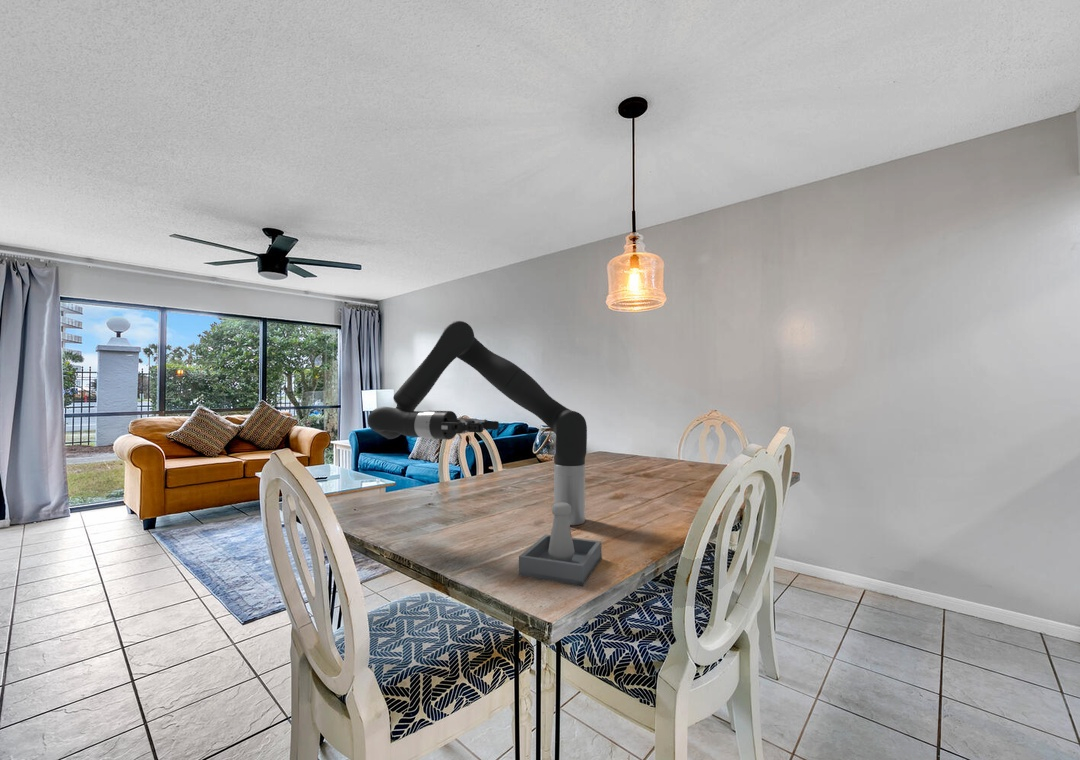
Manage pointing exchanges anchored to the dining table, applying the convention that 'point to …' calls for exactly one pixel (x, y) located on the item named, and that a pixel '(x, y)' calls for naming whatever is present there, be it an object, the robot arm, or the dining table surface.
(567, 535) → the salt shaker
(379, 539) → the dining table surface
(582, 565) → the tray
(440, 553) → the dining table surface
